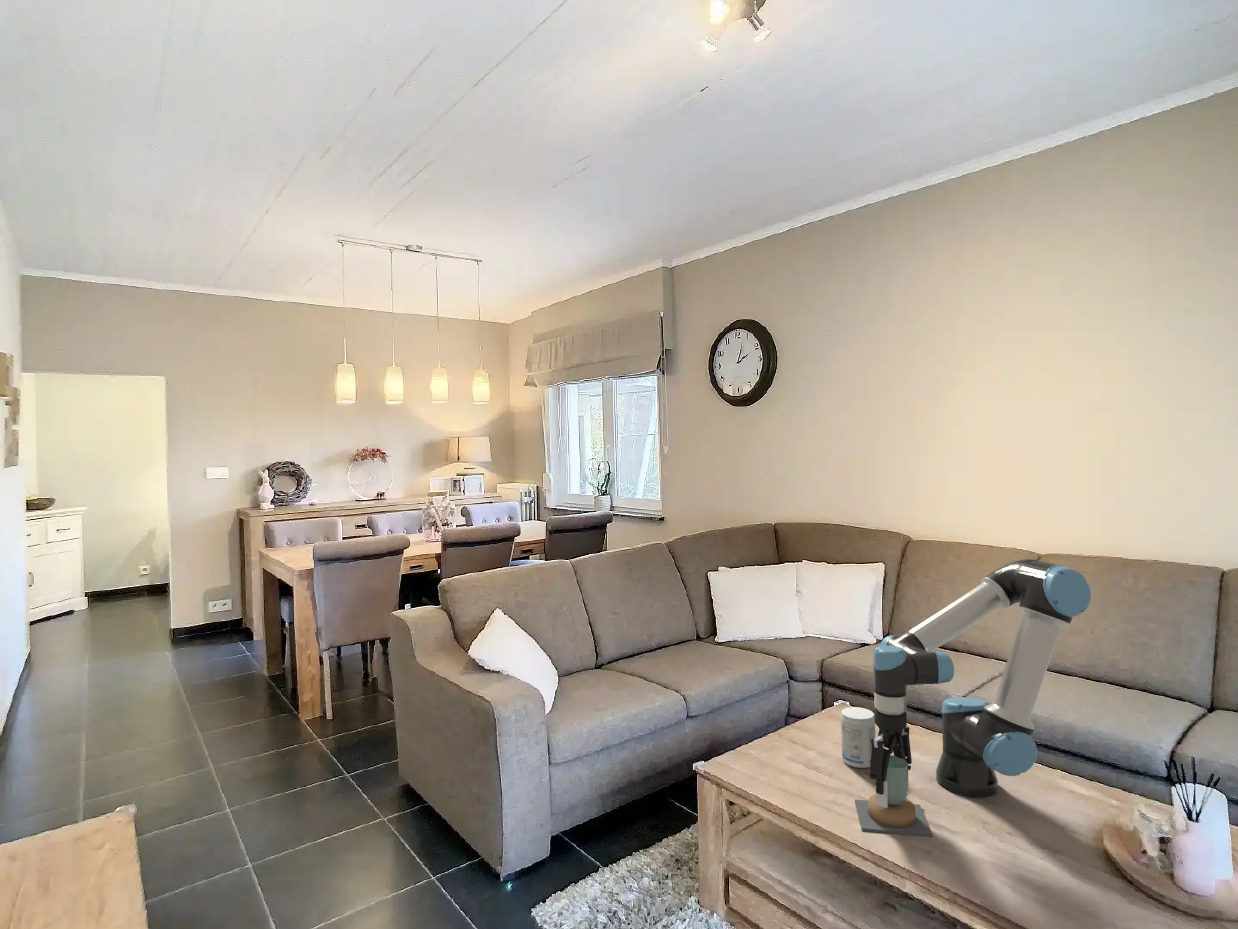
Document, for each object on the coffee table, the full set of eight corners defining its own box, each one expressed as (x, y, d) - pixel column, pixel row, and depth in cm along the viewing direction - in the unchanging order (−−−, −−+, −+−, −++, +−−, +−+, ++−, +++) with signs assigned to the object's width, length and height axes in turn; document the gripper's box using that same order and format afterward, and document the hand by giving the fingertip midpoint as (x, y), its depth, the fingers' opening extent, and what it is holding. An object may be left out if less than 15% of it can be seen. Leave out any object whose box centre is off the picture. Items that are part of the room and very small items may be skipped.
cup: (911, 810, 168) (911, 769, 168) (878, 807, 169) (877, 767, 169) (905, 794, 176) (904, 755, 175) (873, 792, 177) (872, 753, 177)
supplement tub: (864, 753, 209) (863, 705, 209) (883, 767, 200) (882, 716, 200) (835, 757, 207) (834, 708, 207) (852, 771, 198) (852, 720, 198)
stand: (919, 806, 178) (919, 793, 178) (932, 837, 164) (932, 822, 164) (854, 801, 181) (854, 788, 181) (861, 830, 167) (861, 816, 167)
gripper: (898, 695, 181) (900, 781, 182) (852, 715, 169) (854, 808, 169) (926, 703, 175) (927, 792, 176) (880, 725, 163) (882, 820, 163)
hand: (891, 799), depth 173 cm, fingers closed on cup, 8 cm apart
